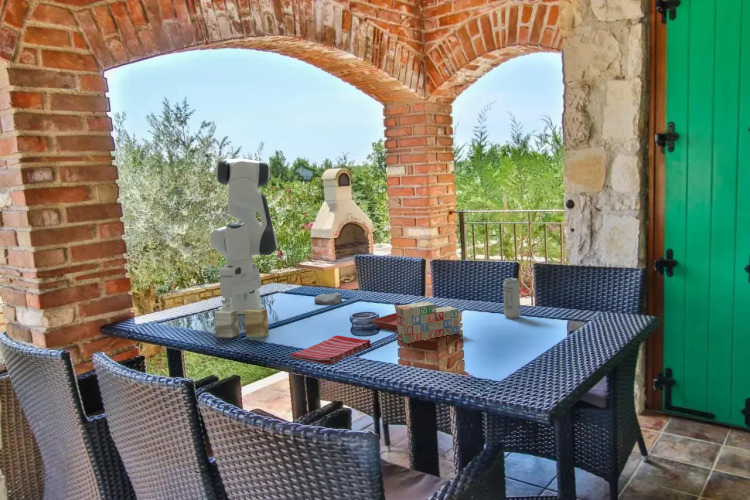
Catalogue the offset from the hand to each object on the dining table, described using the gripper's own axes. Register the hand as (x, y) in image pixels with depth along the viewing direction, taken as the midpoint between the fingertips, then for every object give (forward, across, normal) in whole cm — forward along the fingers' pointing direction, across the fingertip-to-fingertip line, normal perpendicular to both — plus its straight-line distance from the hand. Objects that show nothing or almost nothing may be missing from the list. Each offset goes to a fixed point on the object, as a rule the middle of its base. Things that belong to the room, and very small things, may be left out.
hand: (243, 305), depth 219 cm
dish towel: (+15, +4, +37) cm, 40 cm away
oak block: (+13, -8, 0) cm, 16 cm away
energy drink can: (+14, -53, +86) cm, 102 cm away
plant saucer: (+14, -33, +49) cm, 61 cm away
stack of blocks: (+14, -20, +63) cm, 68 cm away
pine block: (+13, -4, -11) cm, 18 cm away
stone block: (+13, -68, -2) cm, 69 cm away
